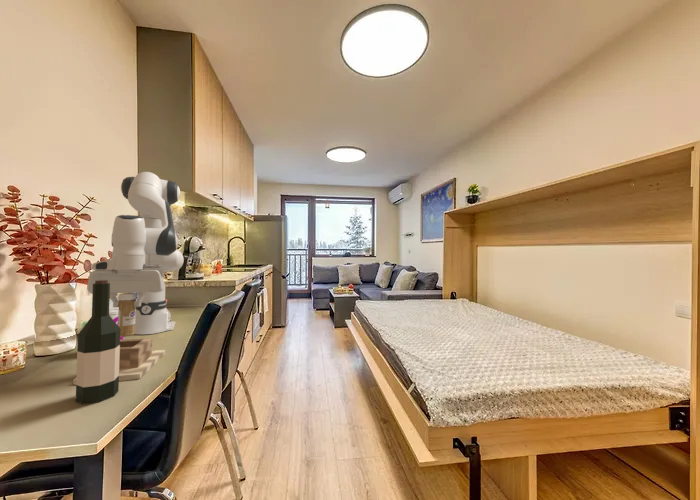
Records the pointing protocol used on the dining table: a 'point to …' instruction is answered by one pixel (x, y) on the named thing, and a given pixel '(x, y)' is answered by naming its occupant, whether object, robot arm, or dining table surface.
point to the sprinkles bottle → (126, 314)
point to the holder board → (138, 370)
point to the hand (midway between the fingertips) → (127, 306)
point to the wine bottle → (98, 351)
